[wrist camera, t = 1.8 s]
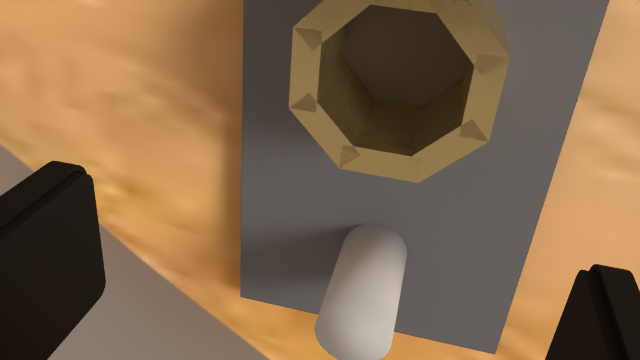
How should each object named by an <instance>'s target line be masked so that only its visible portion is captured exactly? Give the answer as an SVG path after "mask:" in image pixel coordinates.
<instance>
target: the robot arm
mask: <svg viewBox="0 0 640 360" xmlns="http://www.w3.org/2000/svg"><path fill="white" fill-rule="evenodd" d="M105 283H106V280H105V271H104V263H103V255H102V247H101V239H100V232H99V224H98V216H97V208H96V200H95V192H94V184H93V179H92V177H91V176H90V175H88V174H87V173H86V171H85V169H84V168H83V167H82V166H80V165H75V164H69V163H64V162H59V161H51V162H49V163H47V164H46V165H44V166H43V167H42V168H40V169H39V170H37V171H36V172H34V173H33V174H32V175H30V176H29V177H27V178H26V179H24V180H23V181H21V182H20V183H19V184H17V185H16V186H14V187H13V188H12V189H10V190H9V191H7V192H6V193H4V194H3V195H1V196H0V360H47V359H48V358H49V357H50V356H51V354H52V353H53V352H54V351H55V350H56V349H57V347H58V346H59V345H60V344H61V343H62V341H63V340H64V339H65V338H66V337H67V336H68V335H69V333H70V332H71V331H72V330H73V329H74V328H75V326H76V325H77V324H78V323H79V322H80V321H81V319H82V318H83V317H84V316H85V315H86V314H87V313H88V311H89V310H90V309H91V308H92V307H93V306H94V304H95V303H96V302H97V301H98V300H99V298H100V297H101V296H102V294H103V292H104V288H105ZM545 360H640V291H639V289H638V286H637V284H636V281H635V279H634V276H633V274H632V273H631V271H629V270H624V269H619V268H614V267H609V266H603V265H598V264H595V265H593V266H592V267H591V268H590V270H589V271H586V270H580V271H579V272H578V274H577V276H576V279H575V281H574V284H573V287H572V289H571V292H570V295H569V297H568V300H567V303H566V305H565V308H564V311H563V313H562V316H561V318H560V321H559V324H558V326H557V329H556V332H555V334H554V337H553V340H552V342H551V345H550V348H549V350H548V353H547V356H546V358H545Z"/></svg>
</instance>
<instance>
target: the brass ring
mask: <svg viewBox="0 0 640 360" xmlns="http://www.w3.org/2000/svg"><path fill="white" fill-rule="evenodd" d="M369 5H378V6H385V7H393V8H400V9H408V10H415V11H423V12H430V13H437V15H438V16H439V18H440V19H441V20H442V22H443V23H444V24H445V26H446V27H447V29H448V30H449V31H450V33H451V34H452V36H453V37H454V38H455V40H456V41H457V42H458V44H459V45H460V47H461V48H462V49H463V51H464V52H465V54H466V55H467V56H468V61H467V66H466V71H465V75H464V78H462V79H461V80H459V81H458V82H456V83H455V84H453V85H452V86H450V87H449V88H447V89H446V90H444V91H443V92H441V93H440V94H438V95H437V96H435V97H434V98H432V99H430V100H429V101H427V102H426V103H424V104H423V105H420V104H414V103H407V102H401V101H395V100H389V99H382V98H376V97H374V96H373V95H372V94H371V92H370V91H369V90H368V89H367V87H366V86H365V85H364V83H363V82H362V81H361V80H360V78H359V77H358V76H357V75H356V73H355V72H354V71H353V69H352V68H351V67H350V66H349V64H348V63H347V62H346V61H345V50H346V40H347V30H348V22H349V21H350V20H352V19H353V18H354V17H355V16H357V15H358V14H359V13H360V12H362V11H363V10H364V9H365V8H367V7H368V6H369ZM509 60H510V55H509V49H508V43H507V37H506V32H505V26H504V20H503V18H502V17H501V16H500V14H499V13H498V11H497V10H496V8H495V7H494V5H493V4H492V2H491V1H490V0H322V1H321V2H320V3H318V4H317V5H316V6H315V7H314V8H313V9H312V10H311V11H310V12H309V13H308V14H307V15H305V16H304V17H303V18H302V19H301V20H300V21H299V22H298V23H297V24H296V25H295V26H293V37H292V56H291V74H290V92H289V109H290V110H291V111H292V113H293V114H294V115H295V116H296V117H297V119H298V120H299V121H300V122H301V123H302V125H303V126H304V127H305V128H306V129H307V131H308V132H309V133H310V134H311V135H312V137H313V138H314V139H315V140H316V141H317V142H318V144H319V145H320V146H321V147H322V148H323V150H324V151H325V152H326V153H327V154H328V156H329V157H330V158H331V159H332V160H333V162H334V163H335V164H336V165H337V166H338V168H339V169H344V170H349V171H355V172H360V173H366V174H371V175H377V176H382V177H388V178H393V179H399V180H404V181H410V182H415V183H419V182H421V181H423V180H424V179H426V178H428V177H429V176H431V175H433V174H435V173H436V172H438V171H440V170H441V169H443V168H445V167H447V166H448V165H450V164H452V163H453V162H455V161H457V160H459V159H460V158H462V157H464V156H465V155H467V154H469V153H471V152H472V151H474V150H476V149H477V148H479V147H481V146H483V145H484V144H486V143H488V142H489V140H490V136H491V132H492V128H493V124H494V120H495V116H496V112H497V108H498V104H499V100H500V96H501V92H502V88H503V84H504V80H505V76H506V72H507V68H508V64H509Z"/></svg>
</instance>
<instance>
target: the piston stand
mask: <svg viewBox="0 0 640 360" xmlns="http://www.w3.org/2000/svg"><path fill="white" fill-rule="evenodd" d="M321 1H322V0H244V39H243V124H242V209H241V294H240V297H243V298H247V299H252V300H256V301H261V302H265V303H270V304H274V305H278V306H283V307H287V308H292V309H296V310H301V311H305V312H309V313H314V314H318V318H317V321H316V324H315V334H316V337H317V340H318V342H319V343H320V345H321V346H322V347H323V348H324V349H325V350H326V351H327V352H328V353H329V354H331V355H332V356H334V357H335V358H337V359H339V360H380V359H381V358H383V357H384V356H385V355H386V354H387V353H388V352H389V350H390V348H391V344H392V339H393V333H394V332H398V333H403V334H407V335H411V336H416V337H420V338H425V339H429V340H434V341H438V342H442V343H447V344H451V345H456V346H460V347H465V348H469V349H473V350H478V351H482V352H487V353H491V354H495V353H496V350H497V347H498V343H499V340H500V337H501V334H502V331H503V328H504V325H505V322H506V319H507V316H508V312H509V309H510V306H511V303H512V300H513V297H514V294H515V291H516V288H517V285H518V282H519V278H520V275H521V272H522V269H523V266H524V263H525V260H526V257H527V254H528V251H529V248H530V244H531V241H532V238H533V235H534V232H535V229H536V226H537V223H538V220H539V217H540V213H541V210H542V207H543V204H544V201H545V198H546V195H547V192H548V189H549V186H550V183H551V179H552V176H553V173H554V170H555V167H556V164H557V161H558V158H559V155H560V152H561V149H562V145H563V142H564V139H565V136H566V133H567V130H568V127H569V124H570V121H571V118H572V114H573V111H574V108H575V105H576V102H577V99H578V96H579V93H580V90H581V87H582V84H583V80H584V77H585V74H586V71H587V68H588V65H589V62H590V59H591V56H592V53H593V50H594V46H595V43H596V40H597V37H598V34H599V31H600V28H601V25H602V22H603V19H604V15H605V12H606V9H607V6H608V3H609V0H490V1H491V2H492V4H493V5H494V7H495V8H496V10H497V11H498V13H499V14H500V16H501V17H502V18H503V20H504V26H505V32H506V37H507V43H508V49H509V55H510V60H509V64H508V68H507V72H506V76H505V80H504V84H503V88H502V92H501V96H500V100H499V104H498V108H497V112H496V116H495V120H494V124H493V128H492V132H491V136H490V140H489V142H488V143H486V144H484V145H483V146H481V147H479V148H477V149H476V150H474V151H472V152H471V153H469V154H467V155H465V156H464V157H462V158H460V159H459V160H457V161H455V162H453V163H452V164H450V165H448V166H447V167H445V168H443V169H441V170H440V171H438V172H436V173H435V174H433V175H431V176H429V177H428V178H426V179H424V180H423V181H421V182H419V183H415V182H410V181H404V180H399V179H393V178H388V177H382V176H377V175H371V174H366V173H360V172H355V171H349V170H344V169H339V168H338V166H337V165H336V164H335V163H334V162H333V160H332V159H331V158H330V157H329V156H328V154H327V153H326V152H325V151H324V150H323V148H322V147H321V146H320V145H319V144H318V142H317V141H316V140H315V139H314V138H313V137H312V135H311V134H310V133H309V132H308V131H307V129H306V128H305V127H304V126H303V125H302V123H301V122H300V121H299V120H298V119H297V117H296V116H295V115H294V114H293V113H292V111H291V110H290V109H289V92H290V74H291V56H292V37H293V26H295V25H296V24H297V23H298V22H299V21H300V20H301V19H302V18H303V17H304V16H305V15H307V14H308V13H309V12H310V11H311V10H312V9H313V8H314V7H315V6H316V5H317V4H318V3H320V2H321ZM345 61H346V62H347V63H348V64H349V66H350V67H351V68H352V69H353V71H354V72H355V73H356V75H357V76H358V77H359V78H360V80H361V81H362V82H363V83H364V85H365V86H366V87H367V89H368V90H369V91H370V92H371V94H372V95H373V96H374V97H376V98H382V99H389V100H395V101H401V102H407V103H414V104H420V105H423V104H424V103H426V102H427V101H429V100H430V99H432V98H434V97H435V96H437V95H438V94H440V93H441V92H443V91H444V90H446V89H447V88H449V87H450V86H452V85H453V84H455V83H456V82H458V81H459V80H461V79H462V78H464V75H465V71H466V66H467V61H468V56H467V55H466V54H465V52H464V51H463V49H462V48H461V47H460V45H459V44H458V42H457V41H456V40H455V38H454V37H453V36H452V34H451V33H450V31H449V30H448V29H447V27H446V26H445V24H444V23H443V22H442V20H441V19H440V18H439V16H438V15H437V13H430V12H423V11H415V10H408V9H400V8H393V7H385V6H378V5H369V6H368V7H367V8H365V9H364V10H363V11H362V12H360V13H359V14H358V15H357V16H355V17H354V18H353V19H352V20H350V21H349V22H348V30H347V40H346V50H345Z"/></svg>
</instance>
